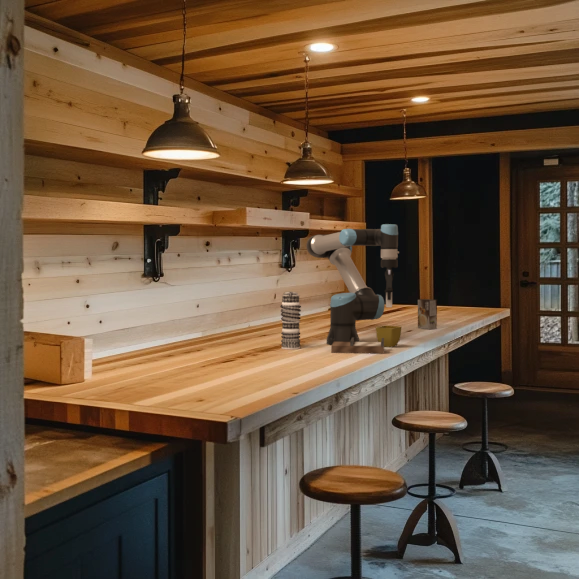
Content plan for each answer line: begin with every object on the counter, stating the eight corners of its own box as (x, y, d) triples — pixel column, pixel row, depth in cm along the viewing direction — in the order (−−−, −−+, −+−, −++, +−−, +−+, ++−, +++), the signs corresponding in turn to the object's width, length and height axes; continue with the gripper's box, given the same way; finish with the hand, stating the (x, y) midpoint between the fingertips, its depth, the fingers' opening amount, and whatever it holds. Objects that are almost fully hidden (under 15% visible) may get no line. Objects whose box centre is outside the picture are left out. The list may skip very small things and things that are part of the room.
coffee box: (437, 328, 406) (437, 299, 405) (429, 329, 402) (429, 300, 401) (424, 327, 413) (425, 298, 412) (417, 328, 409) (417, 299, 408)
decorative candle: (288, 350, 322) (288, 292, 320) (276, 347, 329) (276, 291, 328) (305, 348, 327) (305, 292, 326) (292, 346, 335) (292, 291, 333)
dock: (331, 352, 314) (331, 341, 313) (333, 348, 328) (333, 337, 327) (383, 353, 311) (383, 341, 310) (383, 349, 325) (384, 337, 324)
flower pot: (392, 348, 327) (392, 328, 327) (375, 346, 332) (375, 327, 332) (401, 346, 334) (402, 326, 334) (384, 344, 339) (385, 325, 339)
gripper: (398, 259, 318) (397, 308, 319) (397, 258, 343) (397, 304, 344) (380, 259, 319) (380, 308, 320) (381, 258, 344) (380, 303, 345)
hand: (388, 306), depth 332 cm, fingers open, 13 cm apart
